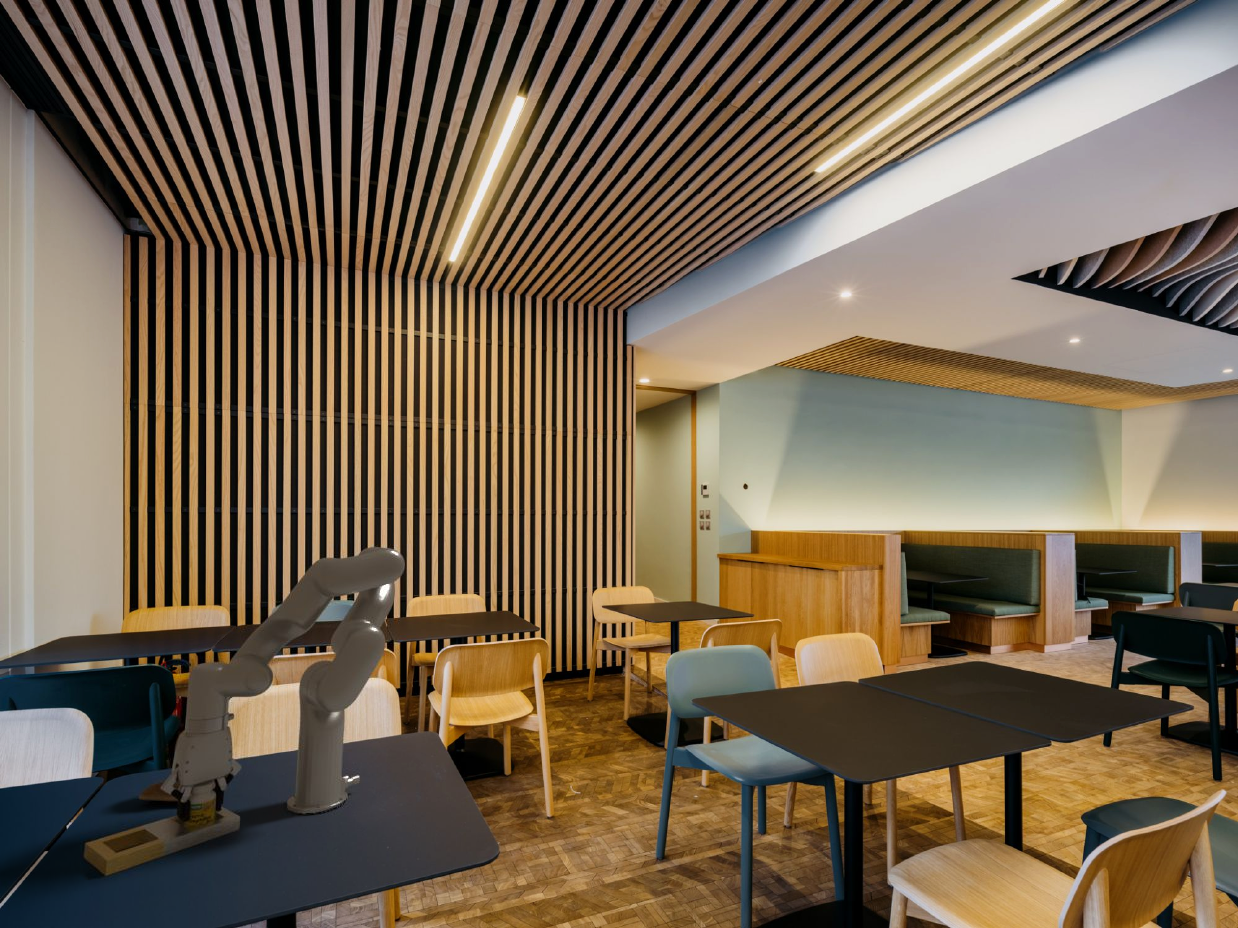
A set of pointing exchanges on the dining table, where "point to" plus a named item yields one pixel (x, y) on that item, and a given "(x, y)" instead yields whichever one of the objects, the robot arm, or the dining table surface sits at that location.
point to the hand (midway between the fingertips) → (200, 813)
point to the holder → (154, 841)
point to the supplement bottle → (201, 805)
